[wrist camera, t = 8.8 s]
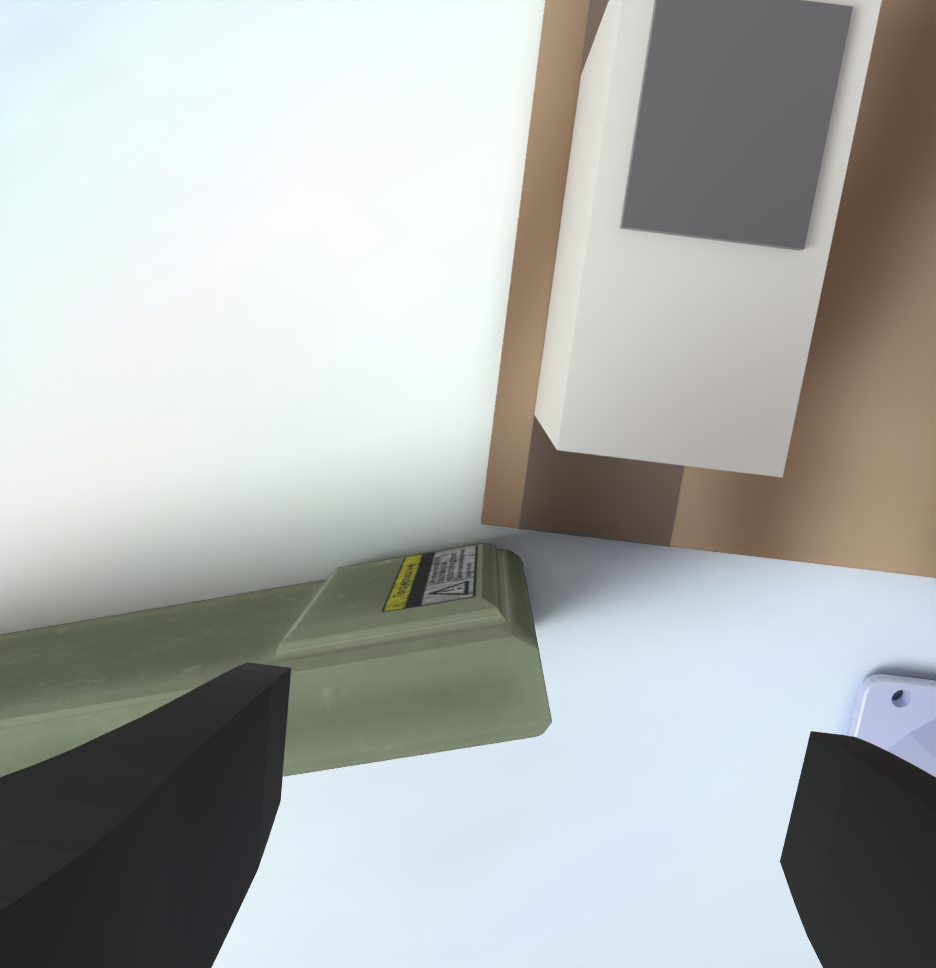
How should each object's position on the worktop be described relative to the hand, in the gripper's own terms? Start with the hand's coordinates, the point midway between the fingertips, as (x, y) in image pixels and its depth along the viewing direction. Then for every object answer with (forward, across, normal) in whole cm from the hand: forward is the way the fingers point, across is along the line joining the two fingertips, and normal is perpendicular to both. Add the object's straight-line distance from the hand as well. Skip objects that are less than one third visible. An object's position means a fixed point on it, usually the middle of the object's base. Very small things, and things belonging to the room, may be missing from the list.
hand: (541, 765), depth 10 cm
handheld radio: (+11, +11, +5) cm, 16 cm away
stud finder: (+10, -2, -8) cm, 13 cm away
